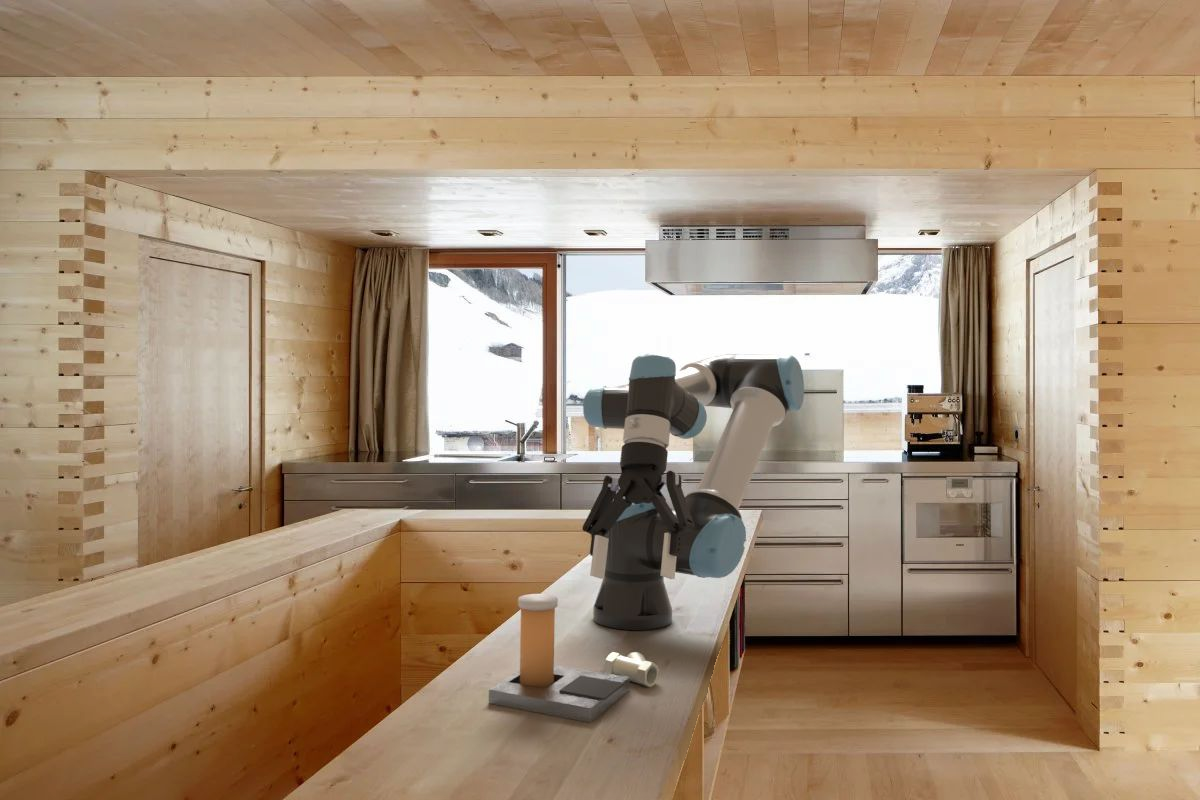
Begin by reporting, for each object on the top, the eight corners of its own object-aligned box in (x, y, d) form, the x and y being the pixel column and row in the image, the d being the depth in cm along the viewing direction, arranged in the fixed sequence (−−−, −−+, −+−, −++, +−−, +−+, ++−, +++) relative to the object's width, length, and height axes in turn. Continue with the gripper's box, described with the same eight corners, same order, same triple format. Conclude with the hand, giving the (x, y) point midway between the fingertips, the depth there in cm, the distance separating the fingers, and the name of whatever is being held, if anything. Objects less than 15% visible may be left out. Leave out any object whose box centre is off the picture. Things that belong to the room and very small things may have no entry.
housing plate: (534, 674, 143) (535, 661, 143) (629, 690, 137) (629, 677, 137) (488, 703, 130) (488, 689, 130) (590, 722, 124) (590, 708, 124)
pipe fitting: (630, 671, 147) (603, 678, 142) (631, 646, 148) (605, 653, 142) (670, 682, 142) (644, 690, 137) (672, 657, 142) (646, 664, 137)
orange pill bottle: (528, 683, 139) (530, 592, 139) (562, 689, 137) (564, 596, 136) (509, 695, 134) (511, 600, 133) (544, 701, 131) (546, 605, 131)
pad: (580, 677, 136) (580, 675, 136) (623, 684, 133) (623, 682, 133) (559, 692, 130) (559, 690, 130) (604, 700, 127) (604, 698, 127)
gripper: (572, 446, 154) (555, 572, 147) (697, 432, 138) (685, 572, 131) (599, 458, 159) (584, 581, 152) (723, 446, 144) (712, 582, 137)
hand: (631, 577), depth 142 cm, fingers open, 13 cm apart
